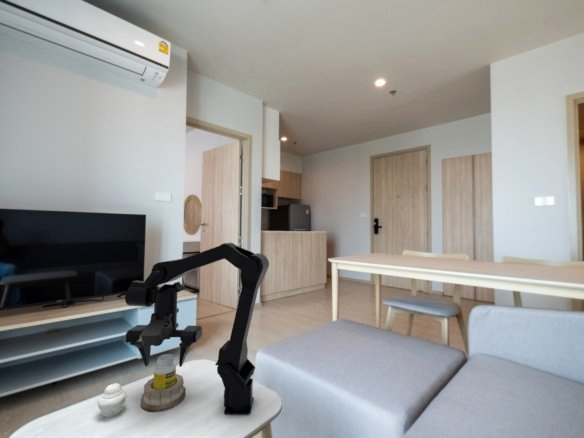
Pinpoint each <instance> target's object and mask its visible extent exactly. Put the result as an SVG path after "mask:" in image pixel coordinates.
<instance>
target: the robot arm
mask: <svg viewBox="0 0 584 438" xmlns="http://www.w3.org/2000/svg"><path fill="white" fill-rule="evenodd" d="M222 260H226V261H228V263H230V264H231V265H232V266H233V267H235V268H236V269H238V270H240V276H239V277H240V285H241V289H240V294H239V298H238V302H237V307H236V311H235V315H234V320H233V324H232V328H231V333H230V336H229V337H230V338H229V340H226V342H225V343H224V344H223V345H222V346H221V347H220V348H219V350H218V357H217V361H216V362H215V366H217V367H216V372H217V374H218V375H219V378H221V382H222V384H223V388H224V391H223V393H224V394H223V408H224V412H223V414H224V415H248V416H249V415H251V413H252V409H253V403H254V400H255V399H254V398H255V397H253V391H254V389H253V387H254V386H253V385H254V384H253V383H254V379H253V378H252V376H253V375H254V373H255V370H256V366H255V364H253V363H252V362H251V361H250V359H249V358H248V350H249V349H248V341H247V339H248V335H249V332H250V331H249V330H250V326H251V322H252V318H253V313H254V310H255V305H256V301H257V295H258V291H259V288H260V287H261V284H262V283H263V281H264V279H265V277H266V274H267V271H268V270H269V266H270V261H269V259H268V258H267V256H265V254H264V253H263V254H262V253H254V252H252V251H251V250H248V249H246V248H244V247H240V246H238V245H237V244H235V243H234V242H224V243H221V244H220V245H218V246H215V247H212V248H209V249H207V250H203V251H200V252H198V253H195V254H193V255H190V256H187V257H184V258H179V259H178V258H177V259H172V260H167V261H165V260H164V261H161V262H160V261H159V262H157V263H155V264H154V265H153V266H152V268H151V273H150V274H149V275H148V276H147V278H146V279H145V281H142V280H133V281H131V282H130V283H131V284H130V286H129V288H128V289H127V291H126V293H125V295H124V302H125V304H126V305H127V306H129V307H147V308H149V307H152V306H153V313H151V315H150V321H149V323H147V324H137V325H135V326H133V327H132V328H130V329H128V330H127V331H126V332H125V335H124V342H125V343H129V345H130V346H133V347H135V348H137V350H138V352H139V353H140V356H141V359H142V361H143V363H144V366H145V367H148V366H149V365H150V360H151V349H152V348H151V347H152V346H154V347H159V346H161V345H162V344H163V343H164V341H165V340H170V339H171V338H179V340H180V341H181V342H180V343H179V345H178V346H179V348H180V349H179V351H180V352H179V361H178V363H179V367H180V368H181V367H183V365H184V362H185V359H186V357H187V354H188V352H189V350H190V347H191V346H192V345H193V344H196V343H197V342H198V341H199V340H200V339H201V337H202V336H203V327H202V326H201V325H187V326H186V327H185V328H183V329H178V328H179V323H178V322H177V321H178V319H177V317H178V313H179V312H180V310H179V309H180V308H178V293H180V292H182V291H185V290H186V287H185V286H184V285H183V284H181V282H180V281H177V282H175V281H176V280H178V279H180V278H182V277H184V276H186V275H187V274H188V273H189V272H191V271H194V270H196V269H200V268H202V267H206V266H207V265H211V264H213V263H216V262H217V263H218V262H219V261H222ZM173 281H174V282H173ZM171 282H173V284H172V283H171ZM167 283H171V284H167ZM160 285H162V286H160Z"/></svg>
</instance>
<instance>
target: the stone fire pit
mask: <svg viewBox="0 0 584 438" xmlns="http://www.w3.org/2000/svg"><path fill="white" fill-rule="evenodd" d="M184 381H185V380H184V377H183V375H180V374H179V373H176V379H175V385H173V386H171V387H170V388H166V389H162V390H155V389H153V383H154V377H153V378H151V379H149V380H147V382H145V383H144V385H143V394H142V395H141V397H140V408H141V409H142V410H144V411H145V412H148V413H160V412H164V411H167V410H171V409H173V408H175V407H177V406H179V405H180V404H181V403H182V402H184V401H185V398H186V395H187V394H186V393H187V392H186V391H187V389H186V387H185V386H184V384H185V383H184Z"/></svg>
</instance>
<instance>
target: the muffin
mask: <svg viewBox="0 0 584 438" xmlns="http://www.w3.org/2000/svg"><path fill="white" fill-rule="evenodd" d="M127 396H128V394H127V391H126V390H125V389H123V388H122V385H121V384H120V383H116V382H115V383H112V384H109V385H107V386H106V387H105V388H104V391H103V393H102V394H101V396H99V398H98V400H97V403H96V404H97V407H98V410H100V412H101V414H102V415H103V416H104V418H105V417H106V418H111V417H115V416H117V415H118V414H119V413H120V412H121V410H122V408H123V405H124V404H125V402H126V399H127V398H128V397H127Z"/></svg>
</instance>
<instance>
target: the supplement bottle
mask: <svg viewBox="0 0 584 438" xmlns="http://www.w3.org/2000/svg"><path fill="white" fill-rule="evenodd" d="M156 360H157V362H156V363H157V365H156V366H155V367H154V369H153V378H154V383H153V389H155V390H162V389H166V388H170V387H171V386H173V385H175V379H176V374H177V366H176V363H174V354H171V353H164V354H162V355H160V356H158V357H157V359H156Z"/></svg>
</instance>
